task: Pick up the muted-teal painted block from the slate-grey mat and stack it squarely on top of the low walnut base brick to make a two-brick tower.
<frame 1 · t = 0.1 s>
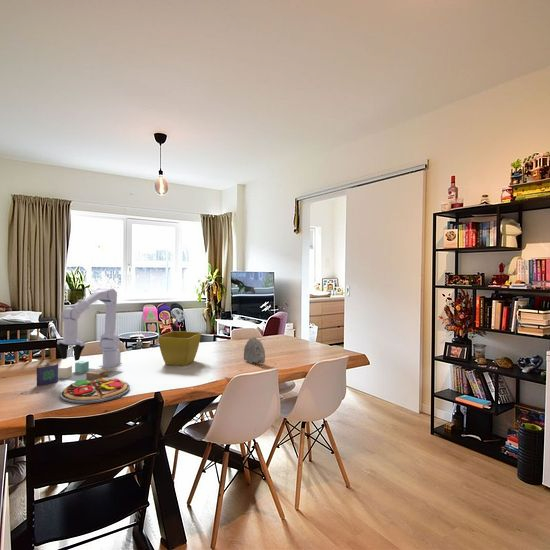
hand: (70, 359, 179), 10 cm above the table, fingers open, 7 cm apart
decorative rock: (254, 363, 216), on the table
toy pizza: (96, 392, 161), on the table, touching mat
walnut base: (97, 377, 182), resting on mat
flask: (47, 384, 172), on the table
teal block: (81, 371, 192), resting on mat
flower pot: (179, 363, 214), on the table
mat: (90, 375, 186), on the table
cream block: (64, 376, 183), resting on mat
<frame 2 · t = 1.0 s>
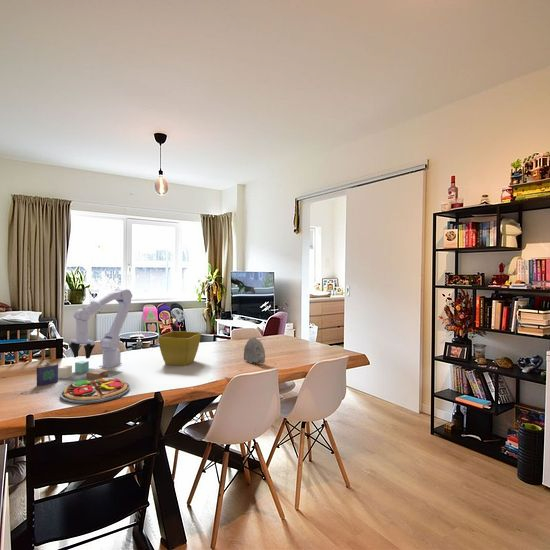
hand: (81, 357, 192), 8 cm above the table, fingers open, 7 cm apart
nothing on the table moved.
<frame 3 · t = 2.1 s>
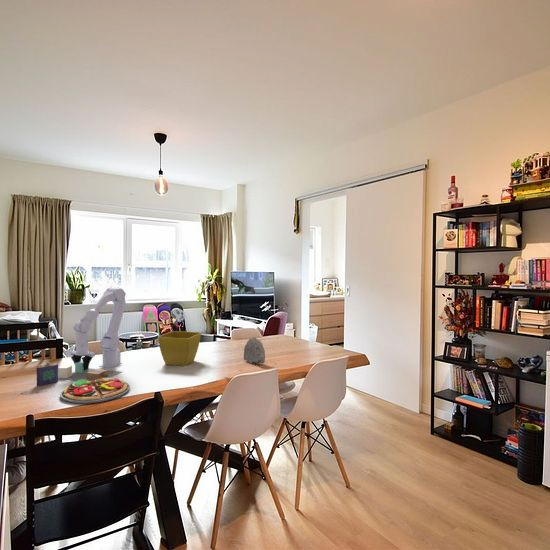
hand: (81, 369, 192), 1 cm above the table, fingers closed on teal block, 4 cm apart
teal block: (81, 371, 192), resting on mat, touching gripper
everything else where it was.
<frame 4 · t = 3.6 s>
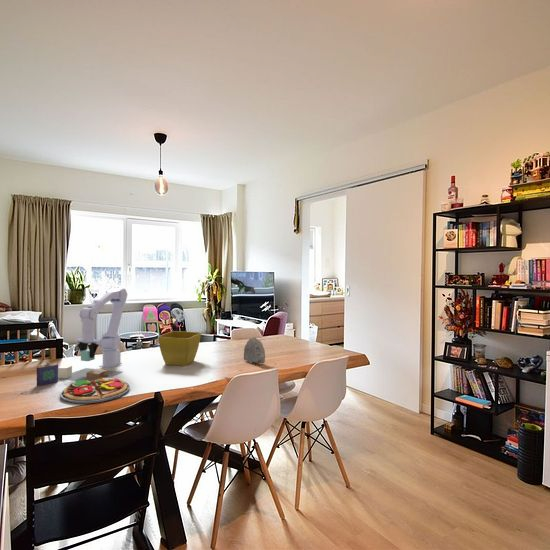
hand: (88, 357, 188), 9 cm above the table, fingers closed on teal block, 4 cm apart
teal block: (87, 359, 188), point 8 cm above the table, touching gripper
everything else where it was.
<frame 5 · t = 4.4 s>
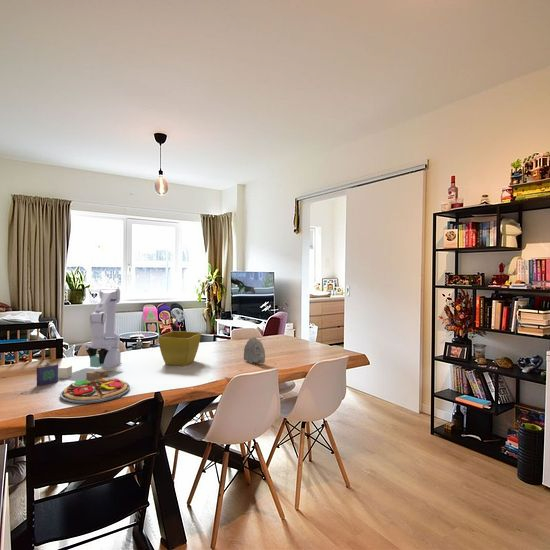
hand: (97, 363, 182), 7 cm above the table, fingers closed on teal block, 4 cm apart
teal block: (97, 365, 182), point 6 cm above the table, touching gripper
everything else where it was.
when the fingers open (6 cm above the table, at t = 5.1 s): teal block drops 1 cm, resting on walnut base.
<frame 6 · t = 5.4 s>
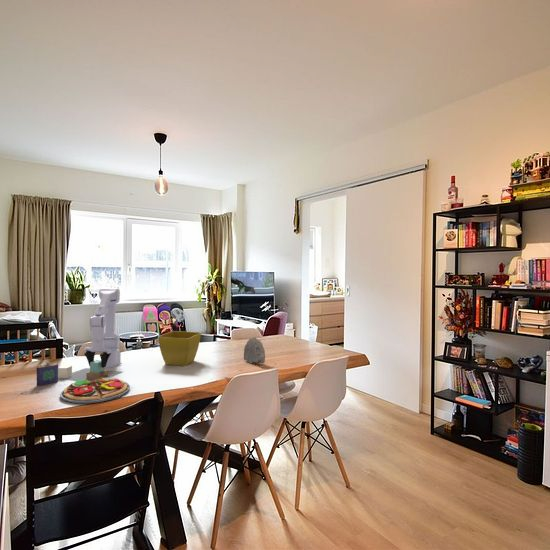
hand: (97, 366, 182), 6 cm above the table, fingers open, 7 cm apart
teal block: (97, 371, 182), point 3 cm above the table, touching walnut base
everything else where it was.
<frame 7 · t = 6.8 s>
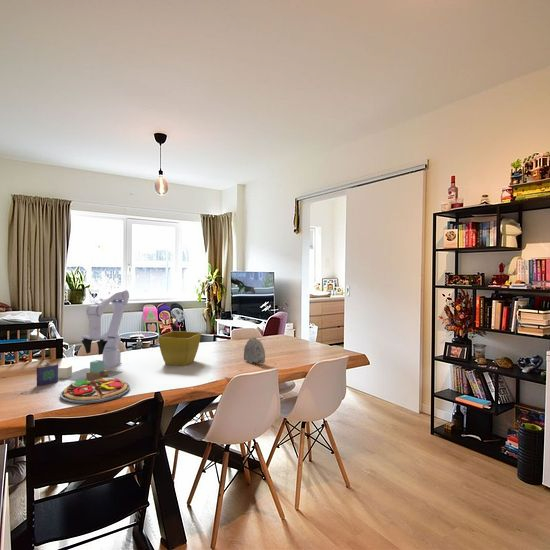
hand: (94, 353, 190), 10 cm above the table, fingers open, 7 cm apart
nothing on the table moved.
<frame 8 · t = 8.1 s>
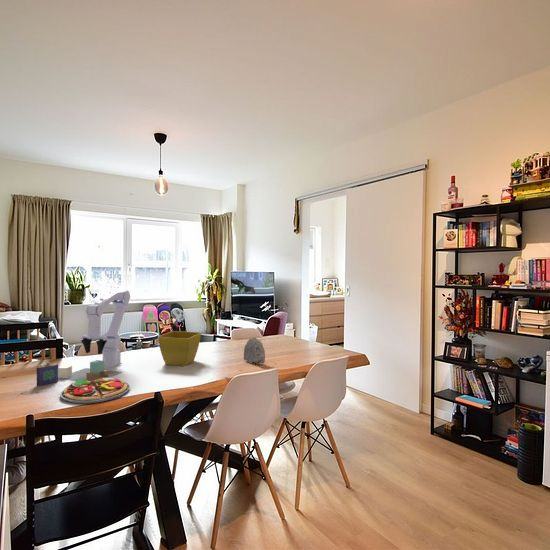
hand: (93, 353, 190), 10 cm above the table, fingers open, 7 cm apart
nothing on the table moved.
at the end: teal block 0.2 cm off-centre on the walnut base, point 3.0 cm above the walnut base's base; teal block tilted 0°; the gripper is holding nothing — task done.
